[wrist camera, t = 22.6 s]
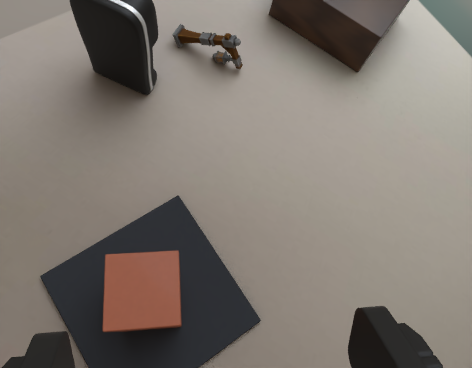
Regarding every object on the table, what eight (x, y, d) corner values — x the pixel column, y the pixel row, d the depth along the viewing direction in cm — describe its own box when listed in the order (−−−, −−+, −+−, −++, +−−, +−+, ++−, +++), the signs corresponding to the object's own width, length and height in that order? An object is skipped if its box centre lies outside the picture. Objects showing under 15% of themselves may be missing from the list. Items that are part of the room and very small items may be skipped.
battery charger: (166, 72, 44) (160, -11, 33) (149, 98, 42) (138, 20, 32) (109, 46, 44) (85, -44, 33) (91, 72, 42) (60, -15, 32)
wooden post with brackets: (244, 74, 44) (234, 41, 40) (186, 64, 47) (171, 33, 43) (251, 63, 44) (242, 29, 41) (193, 53, 48) (179, 22, 44)
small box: (179, 268, 36) (178, 250, 28) (181, 326, 34) (181, 325, 26) (123, 272, 35) (104, 254, 27) (122, 331, 34) (102, 332, 25)
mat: (260, 320, 36) (261, 320, 35) (120, 424, 32) (119, 426, 31) (178, 196, 39) (178, 195, 38) (41, 276, 35) (39, 276, 34)
